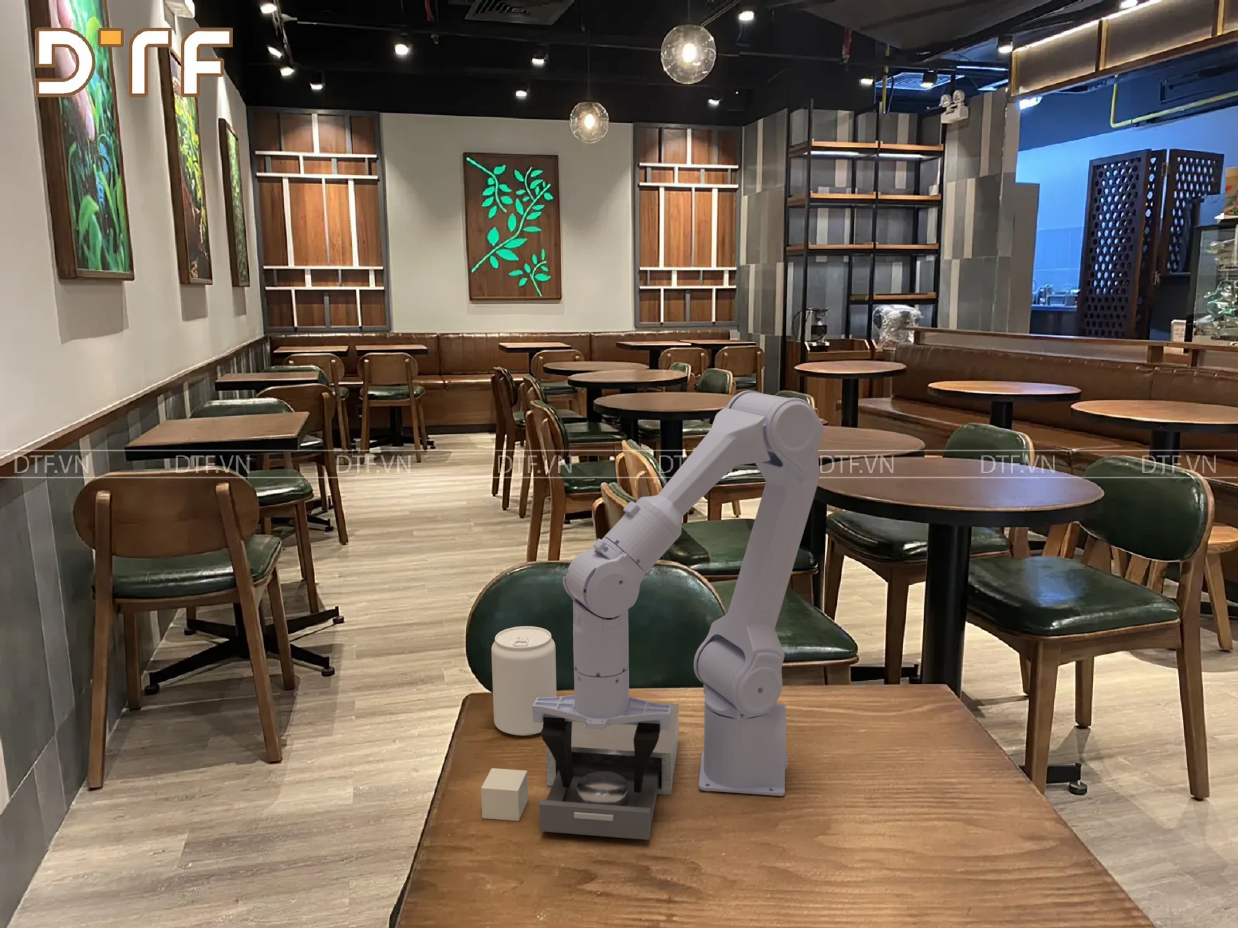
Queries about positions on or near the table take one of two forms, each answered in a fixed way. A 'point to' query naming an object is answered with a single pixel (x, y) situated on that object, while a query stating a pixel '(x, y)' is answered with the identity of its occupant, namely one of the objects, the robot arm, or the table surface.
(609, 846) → the table surface
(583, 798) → the disc
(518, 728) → the beverage can
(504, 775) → the riser block
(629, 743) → the box
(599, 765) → the tray
